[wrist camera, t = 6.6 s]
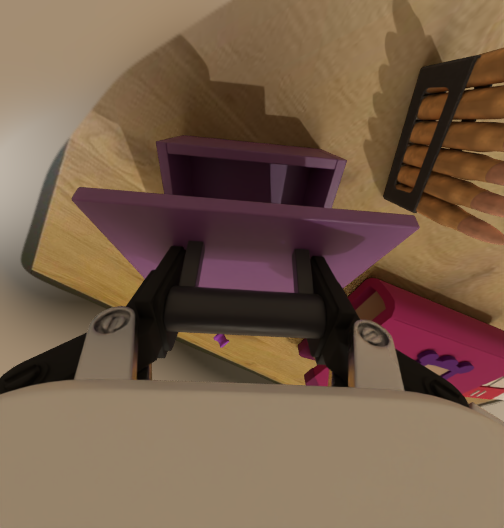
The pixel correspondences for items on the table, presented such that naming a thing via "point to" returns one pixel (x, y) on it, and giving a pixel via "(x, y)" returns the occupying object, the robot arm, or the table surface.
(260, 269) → the lid
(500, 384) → the calculator
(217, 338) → the pushpin
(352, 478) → the robot arm
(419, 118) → the ammunition clip
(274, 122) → the table surface
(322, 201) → the box
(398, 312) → the book
